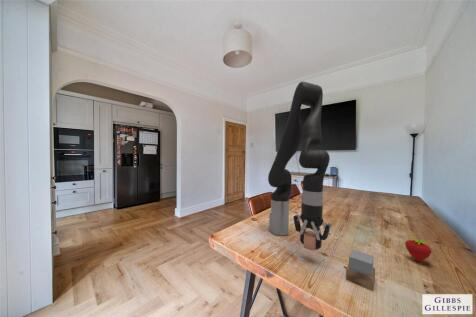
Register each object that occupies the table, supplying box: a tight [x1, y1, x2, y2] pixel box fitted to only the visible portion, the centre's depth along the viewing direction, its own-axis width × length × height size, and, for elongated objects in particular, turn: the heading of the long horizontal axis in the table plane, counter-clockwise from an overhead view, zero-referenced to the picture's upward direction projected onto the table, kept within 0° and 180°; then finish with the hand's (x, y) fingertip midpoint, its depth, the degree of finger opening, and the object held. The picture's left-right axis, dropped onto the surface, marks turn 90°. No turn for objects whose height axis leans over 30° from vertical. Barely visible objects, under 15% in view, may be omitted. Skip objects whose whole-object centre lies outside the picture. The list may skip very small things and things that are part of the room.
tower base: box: [345, 263, 376, 291], centre depth 58 cm, size 7×7×4 cm
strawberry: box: [404, 237, 432, 263], centre depth 68 cm, size 6×8×10 cm
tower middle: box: [348, 249, 375, 277], centre depth 58 cm, size 6×6×4 cm
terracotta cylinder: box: [302, 230, 318, 251], centre depth 68 cm, size 5×5×5 cm
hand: (310, 245), depth 68 cm, fingers closed on terracotta cylinder, 5 cm apart
